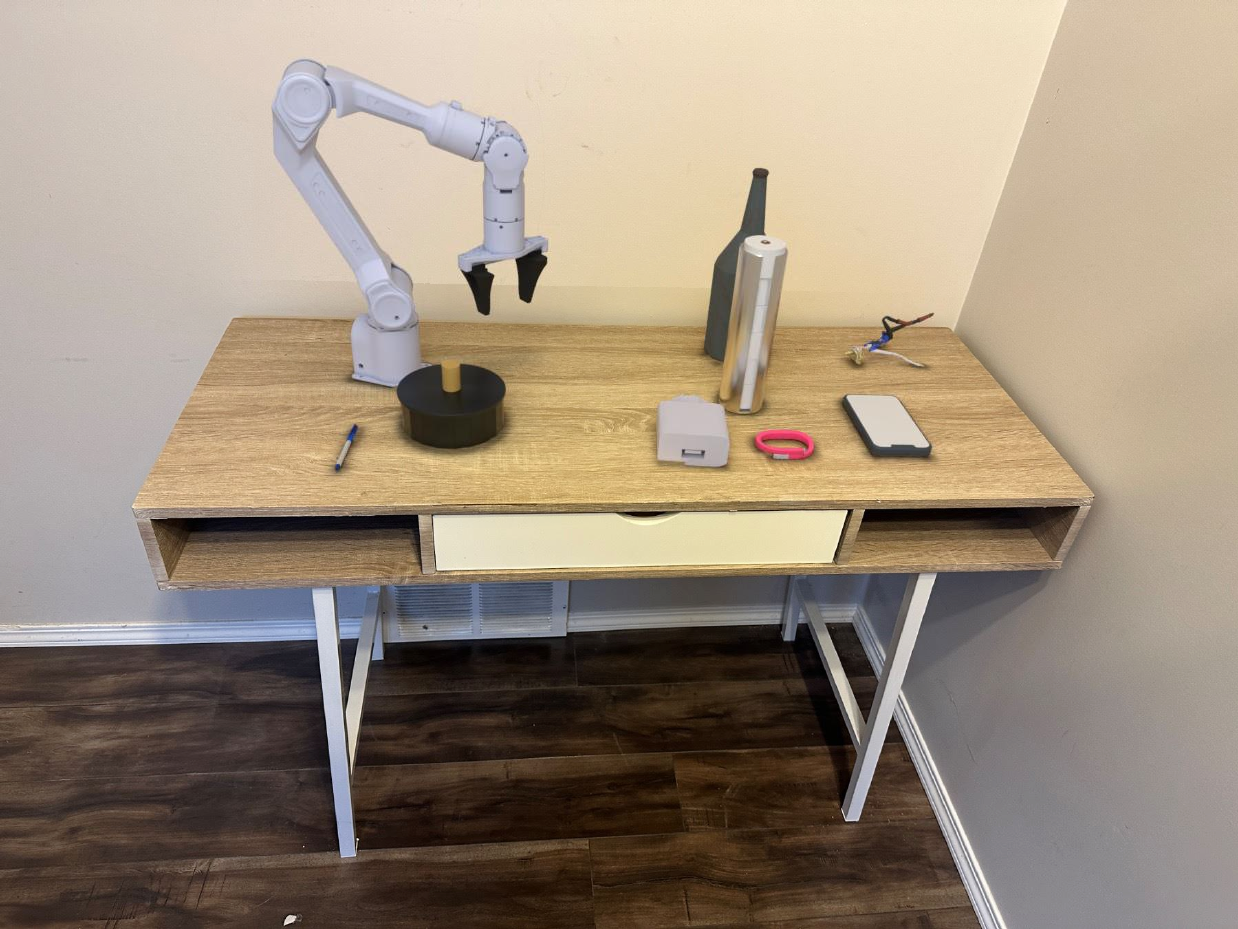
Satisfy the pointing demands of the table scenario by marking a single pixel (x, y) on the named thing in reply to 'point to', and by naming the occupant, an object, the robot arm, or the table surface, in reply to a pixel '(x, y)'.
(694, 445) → the charger
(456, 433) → the tin
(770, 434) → the fitness band
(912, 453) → the smartphone
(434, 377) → the tin lid
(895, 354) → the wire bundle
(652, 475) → the table surface
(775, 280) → the silver metal cylinder
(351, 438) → the ballpoint pen
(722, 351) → the bottle
